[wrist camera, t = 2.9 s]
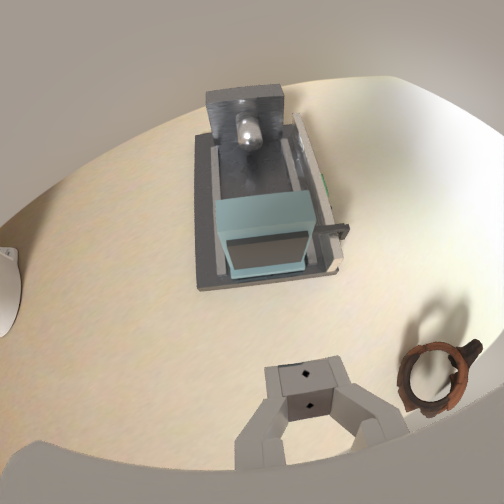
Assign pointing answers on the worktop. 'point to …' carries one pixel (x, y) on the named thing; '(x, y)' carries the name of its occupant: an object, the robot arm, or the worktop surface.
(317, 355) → the worktop surface
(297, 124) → the frame
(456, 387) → the brown hollow ring part
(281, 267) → the gauge slider
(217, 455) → the worktop surface
